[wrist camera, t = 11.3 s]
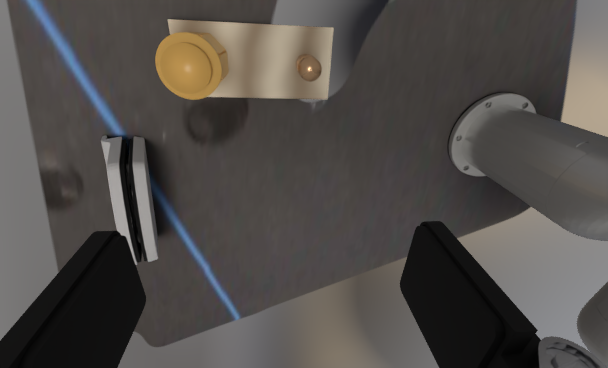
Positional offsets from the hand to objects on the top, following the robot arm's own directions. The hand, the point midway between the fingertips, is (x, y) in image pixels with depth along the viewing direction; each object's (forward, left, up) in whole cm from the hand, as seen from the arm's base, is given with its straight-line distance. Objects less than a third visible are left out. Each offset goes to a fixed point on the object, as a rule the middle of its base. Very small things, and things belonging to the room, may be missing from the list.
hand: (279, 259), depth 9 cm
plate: (+2, -3, -30) cm, 31 cm away
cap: (+8, -3, -29) cm, 30 cm away
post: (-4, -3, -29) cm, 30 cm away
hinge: (+19, +15, -31) cm, 39 cm away
